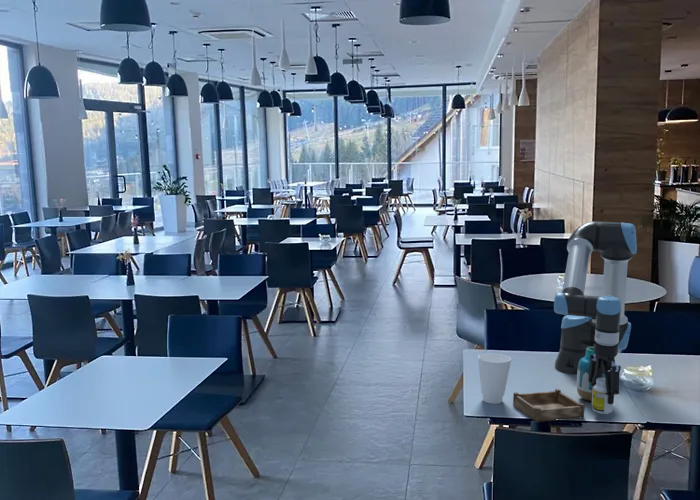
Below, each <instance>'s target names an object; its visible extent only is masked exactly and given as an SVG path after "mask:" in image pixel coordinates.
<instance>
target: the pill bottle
mask: <svg viewBox="0 0 700 500" xmlns="http://www.w3.org/2000/svg"><path fill="white" fill-rule="evenodd" d="M610 391H611V390H610ZM605 393H607V389H606V381H605V378H597V379H596V385H595V386H594V388H593V403H592V402H591V405H592V406H591V407H592V408H591V410H592V411H593V412H595V413H598V414H601V415H608V414H609V413H604V403H605Z"/></svg>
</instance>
